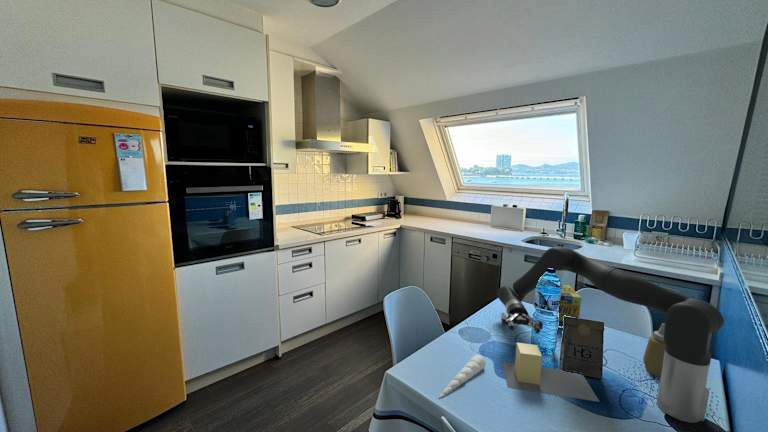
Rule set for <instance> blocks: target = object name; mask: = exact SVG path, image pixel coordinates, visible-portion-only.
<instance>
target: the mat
mask: <svg viewBox="0 0 768 432" xmlns="http://www.w3.org/2000/svg"><path fill="white" fill-rule="evenodd" d="M501 366H502V369H503V374H504V378H505V381H506V386H507V388H509V389H515V390H521V391H528V392H534V393H539V394H540V393H541V394H546V395H553V396H554V395H555V396H559V397H564V398H565V397H566V398H573V399H579V400H586V401H590V402H591V401H593V402H598V403H600V402H601V401H600V399H599V398H598V397H597V395H596V394H595V392H594V390H593V389H592V387H591V385H590V384H589V382H588V381H587V379H586V377H585V376H584V375H581V374H577V373H571V372H566V371H567V370H566V371H563V370H564V369H557V368H551V367H543V366H541V372H540V382H539V384H532V383H525V382H519V381H518V379H517V376H516V373H515V362H508V361H501Z"/></svg>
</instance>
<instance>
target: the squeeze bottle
mask: <svg viewBox="0 0 768 432" xmlns="http://www.w3.org/2000/svg"><path fill="white" fill-rule="evenodd" d="M664 329H665V323H661V325H660V327H659V329H658V330H654V331H653V334H652V336H649V338H648V341H647V344H646V347H645V351H644V354H643V358H642V360H643V364H644V368H645V370H646V372H647V373H649V374H650V375H652V376H655V377H658V378H661V372H662V366H663V360H664V353H665V347H666V344H665V342H664Z"/></svg>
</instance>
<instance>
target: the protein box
mask: <svg viewBox="0 0 768 432" xmlns="http://www.w3.org/2000/svg"><path fill="white" fill-rule="evenodd" d="M560 285H561V289H562V291H561V300H560V306H559V326H561V327H562V326H563V316H564V315H566V316H571V317H576V318H579V319H580V313H581V312H580V311H581V306H582V305H581V304H582V303H581V302H582V296H580V294H579V293H577V291H575V290H574V289H573V287H572V286H571V285H566V284H560Z"/></svg>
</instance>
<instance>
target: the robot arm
mask: <svg viewBox="0 0 768 432" xmlns="http://www.w3.org/2000/svg"><path fill="white" fill-rule="evenodd" d="M547 268H553V269H554V270H555V271H567V272H571V273H573V274H576V275H579V276H581V277H583V278H585V279H587V281H589V282H590V283H591V284H592V285H593V286H594V287H596V288H597V289H599V290H600V291H602V292H603V293H605V294H607V295H610V296H612V297H614V298H615V299H618V300H621V301H624V302H627V303H631V304H634V305H637V306H638V305H639V306H644V307H647V308H651V309H654V310H656V311H660V312H662V313H665V314H666V316H665V320H664V324H665V329H664V342H665V344H666V347H665V353H664V360H663V366H662V372H661V377H660V379H659V380H660V381H659V387H658V393H657V399H656V404H657V405H656V406H657V407H658V408H659V409H660V410H662V412H664V413H665V414H667V415H669V416H670V417H672V418H675V419H676V420H678V421H682V422H686V423H692V424H694V423H695V424H696V423H699V422H705V418H706V413H707V407H708V401H709V395H710V389H709V388H707V383H708V376H709V369H710V366H711V360H712V354H711V352H710V351H709V349H708V343H709V336H710V334H713V333H716V332H717V331H719V330H721V328H723V326H724V323H725V319H724V317H723V314H722V312H721V311H720V310H719V309H718V308H717V307H715V306H714V305H713V304H711V303H709V302H707V301H704V300H702V299H698V298H696V297H693V296H689V295H687V294H683V293H680V292H677V291H673V290H671V289H667V288H666V287H662V286H660V285H658V284H655V283H653V282H651V281H648V280H647V279H644V278H641V277H638V276H636V275H634V274H632V273H630V272H627V271H625V270H623V269H619V268H616V267H615V266H612V265H608V264H606V263H604V262H603V263H602V262H600V261H596V260H594V259H592V258H589V257H587V256H585V255H583V254H581V253H579V252H578V251H575V250H574V249H571V248H569V247H563V246H553V247H550V248H547V250H546V251H545V252H544V253H542V255H541V256H540V258H539V259H538V260H537V261H536V262H535V263H534V264H533V265H532V267H531V268H530V269H529V270H528V271H527V272H525V273H524V274H523V275H522V276H520V277H519V278H517V279H516V281H514V282H513V283H512V288H511V287H510V286H509V285H508V286H507V285H503V286H501V287H499V288H498V290H497V298H498V300H499V301H500V302H501V304H503V305H504V308H505V312H506V314H505V312H501V315H500V320H501V324H502V325H503V326H507V327H508V329H509V330H510V331H512V332H514V329H515V326H516V325H517V326H518V325H519V326H520V325H522V326H525V327H528V328H529V329H531V328H532V329H533V330H534V332H535V334H539V333H541V330H543V327H544V322H543V321H542V320H541V321H542V322H541V321H538V322H539V323H538V322H536V321H534V320H533V318H534V317H532V316H530V315H529V312H528V310H527V308H526V307H525V305H524V304H523V300H524V299H525V297H526V296H527V295H528V294H529V293H531V292H532V291H533V290H535V289H536V288H537V287H536V285H537V283H538V280H539V278H540V277H541V276H542V275H543V274H544V273H545V272H546V269H547Z"/></svg>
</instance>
